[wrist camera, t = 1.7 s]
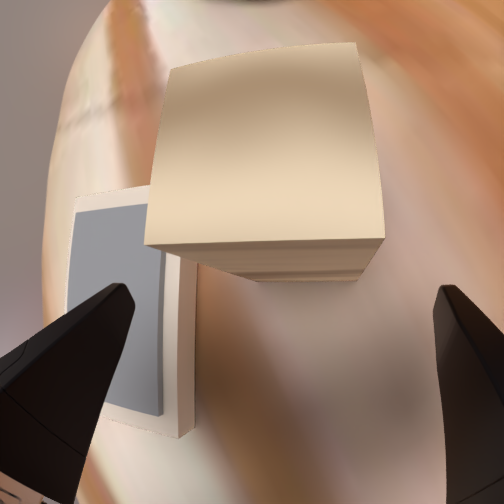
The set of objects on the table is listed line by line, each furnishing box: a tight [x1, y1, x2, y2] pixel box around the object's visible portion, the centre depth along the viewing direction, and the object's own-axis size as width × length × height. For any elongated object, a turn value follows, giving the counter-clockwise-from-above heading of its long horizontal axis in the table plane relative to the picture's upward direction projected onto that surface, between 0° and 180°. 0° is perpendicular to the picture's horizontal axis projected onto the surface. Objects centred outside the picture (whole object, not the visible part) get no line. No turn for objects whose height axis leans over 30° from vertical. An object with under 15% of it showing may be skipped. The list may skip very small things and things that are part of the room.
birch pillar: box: [144, 42, 385, 282], centre depth 14 cm, size 6×6×12 cm
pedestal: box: [64, 185, 198, 439], centre depth 20 cm, size 16×10×3 cm, turn 178°
